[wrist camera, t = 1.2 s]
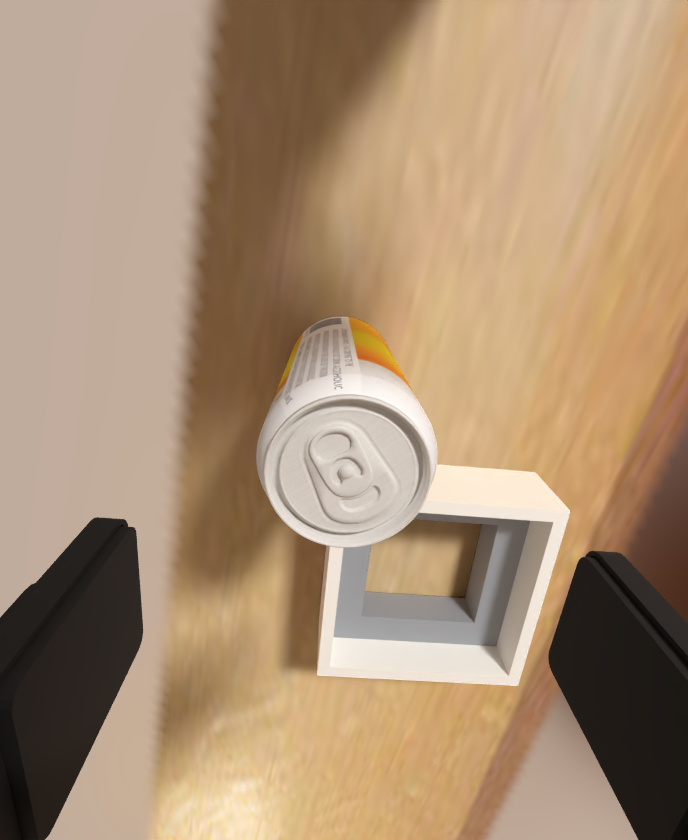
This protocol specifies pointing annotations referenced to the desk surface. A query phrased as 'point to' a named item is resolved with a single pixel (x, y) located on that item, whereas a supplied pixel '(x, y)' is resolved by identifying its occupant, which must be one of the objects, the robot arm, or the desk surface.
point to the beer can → (345, 439)
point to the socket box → (450, 616)
